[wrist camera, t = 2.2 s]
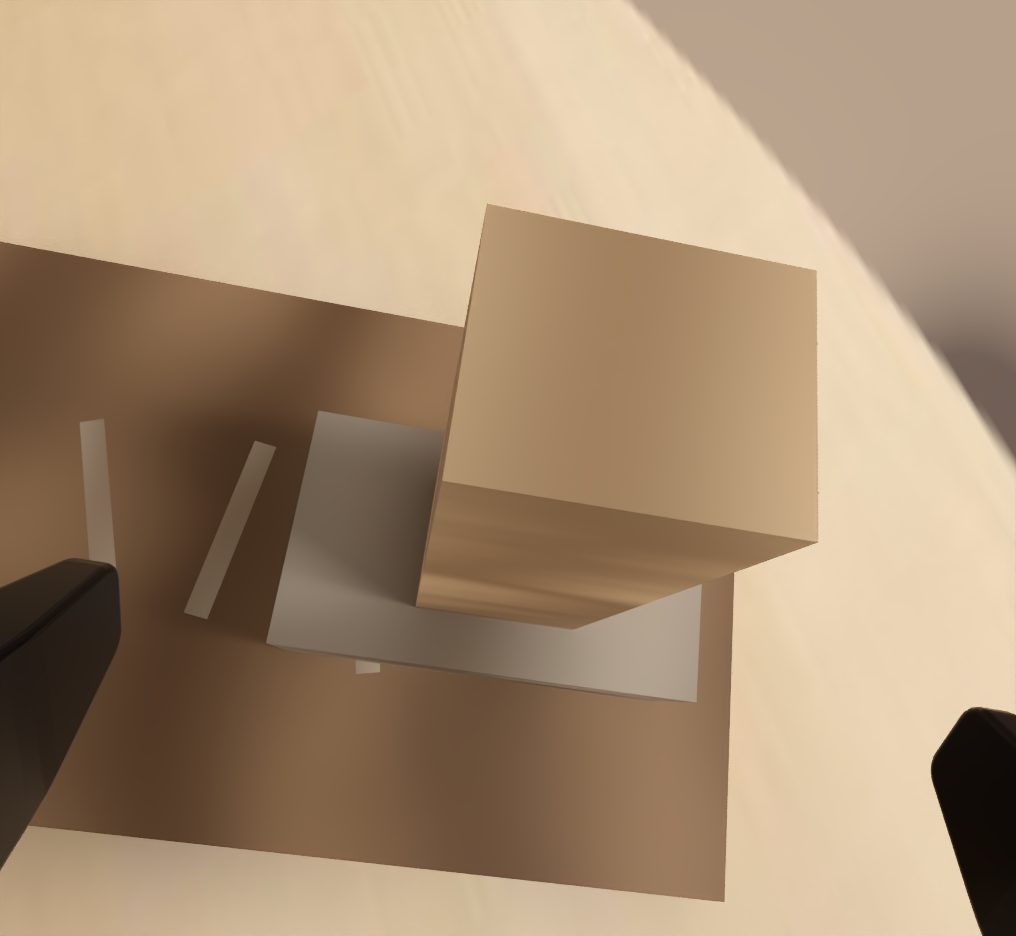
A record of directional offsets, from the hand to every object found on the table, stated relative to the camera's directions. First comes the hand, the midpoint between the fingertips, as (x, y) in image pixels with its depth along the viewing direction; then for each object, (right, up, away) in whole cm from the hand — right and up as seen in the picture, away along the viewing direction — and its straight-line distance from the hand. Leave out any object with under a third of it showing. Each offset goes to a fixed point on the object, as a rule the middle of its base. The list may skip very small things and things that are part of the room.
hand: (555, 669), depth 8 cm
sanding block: (-1, 0, +9) cm, 9 cm away
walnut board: (-6, 0, +10) cm, 12 cm away
